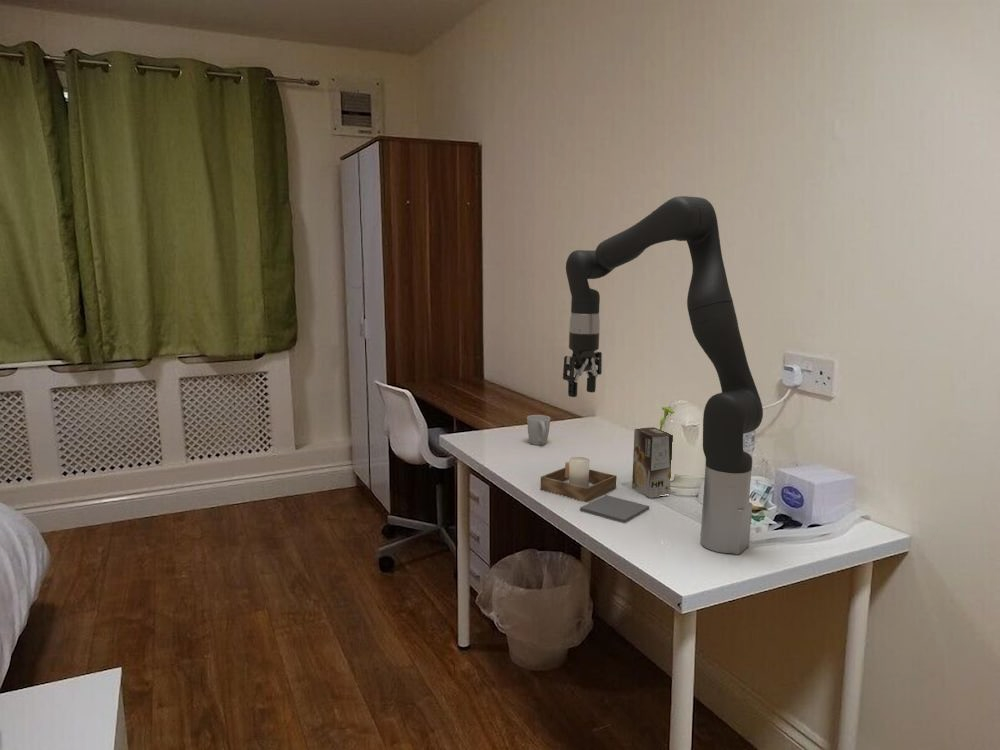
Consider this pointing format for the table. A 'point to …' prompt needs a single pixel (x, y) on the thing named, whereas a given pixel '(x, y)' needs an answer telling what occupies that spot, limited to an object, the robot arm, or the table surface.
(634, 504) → the mat
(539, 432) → the cup
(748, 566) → the table surface
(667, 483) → the coffee box
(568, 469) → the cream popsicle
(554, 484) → the holder
